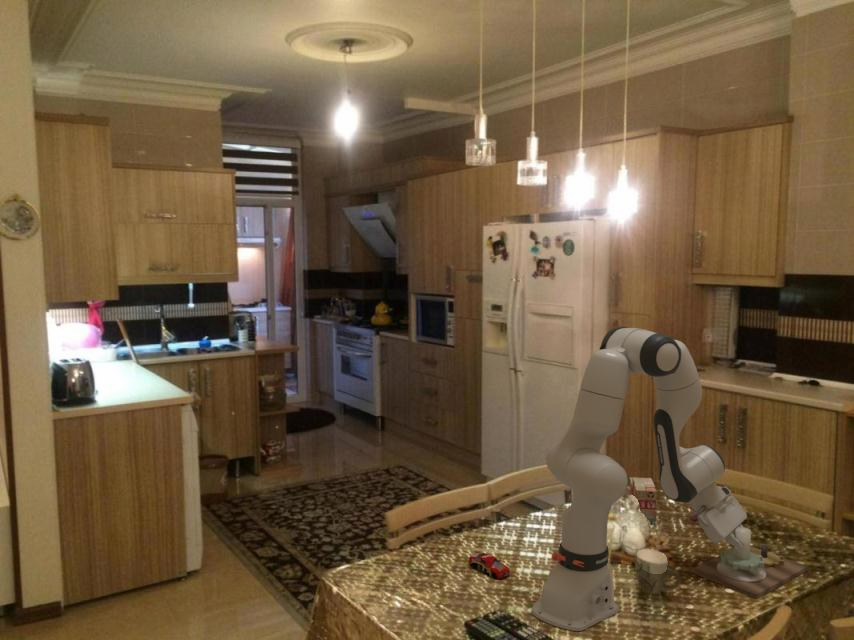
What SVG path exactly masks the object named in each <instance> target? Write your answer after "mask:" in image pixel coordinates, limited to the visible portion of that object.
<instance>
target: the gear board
mask: <svg viewBox="0 0 854 640" xmlns="http://www.w3.org/2000/svg"><path fill="white" fill-rule="evenodd" d="M768 548H769V546H768V545H767V544H766V545H765V544H761V545H760V548H757V547H754V546H752V545H751V546H750V552H751V553H754V554H756V555H761V556H762V557H763V560H762V562H764V568H763V569H762V568H758V569H754V572H751V571H749V570H743V569H737V570H735V569H733V567H731V566H729V565H727V564H722V563H721V557H720V555H719V556H717V557H714V558H712V559H710V560H708V561H706V562H703V563H701V564H699V565H697V566H695V567H692V571H691V572H692V574H694V575H696V576H698V577H699V576H700V577H702V578H704V579H707V580H708V581H711V582H713V581H714V583H716V582H717V584H718V583H719V585H721V584H722V585H721V586H723V585H724V586H723V587H726V588H728V587H729V588H728V589H730V588H731V590H734V591H735V592H737V593H740V594H743V595H745V594H746V595H745V596H747V597H750V598H753V599H755V600H757V599H759V598H761V597H763V596H765V595H767V594H768V593H770V592H772V591H774V590H776V589H777V588H779V587H781V586H784V585H785V584H786V583H788V582H790V581H792V580H793V579H795V578H797V577H799V576H801V575H803V574H804V573H806V572H807V571H808V569H809V567H808V566H807V565H806V564H802V563H799V562H796V561H794V560H791V559H788V558H786V557H784V556H782V555H778V554H776V552H775V551H772V550H771V551H769V550H768Z"/></svg>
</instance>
